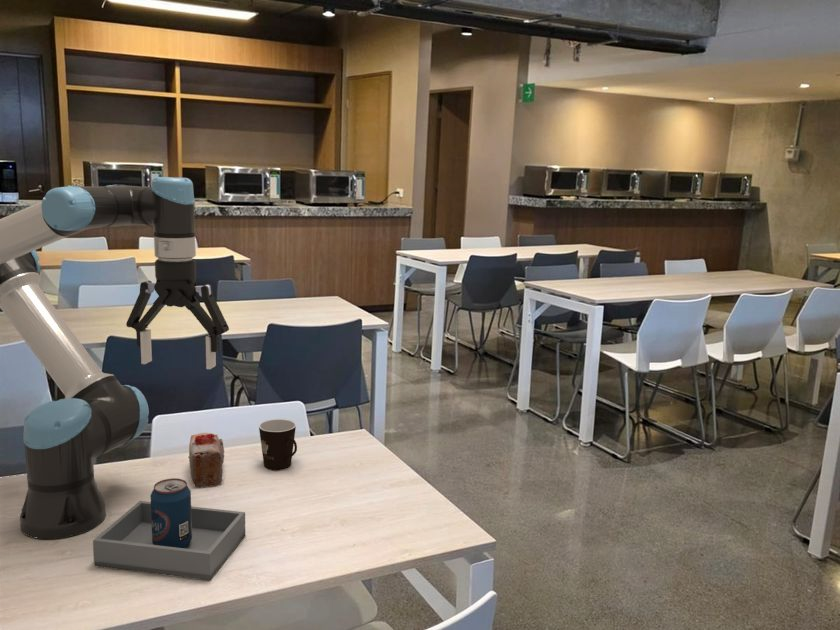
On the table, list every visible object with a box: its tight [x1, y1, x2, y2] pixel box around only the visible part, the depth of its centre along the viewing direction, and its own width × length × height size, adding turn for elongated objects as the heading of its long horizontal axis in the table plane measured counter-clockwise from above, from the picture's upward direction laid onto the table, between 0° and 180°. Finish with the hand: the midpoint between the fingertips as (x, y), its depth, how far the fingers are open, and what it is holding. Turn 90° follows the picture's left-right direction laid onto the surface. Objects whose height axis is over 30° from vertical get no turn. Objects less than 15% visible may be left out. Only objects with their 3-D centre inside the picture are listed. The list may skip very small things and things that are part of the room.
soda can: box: [150, 478, 192, 548], centre depth 131 cm, size 7×7×12 cm
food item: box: [188, 432, 225, 488], centre depth 164 cm, size 14×8×10 cm, turn 20°
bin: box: [92, 500, 246, 582], centre depth 132 cm, size 22×16×5 cm
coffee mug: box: [258, 418, 298, 472], centre depth 170 cm, size 12×9×10 cm
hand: (178, 365), depth 143 cm, fingers open, 13 cm apart
